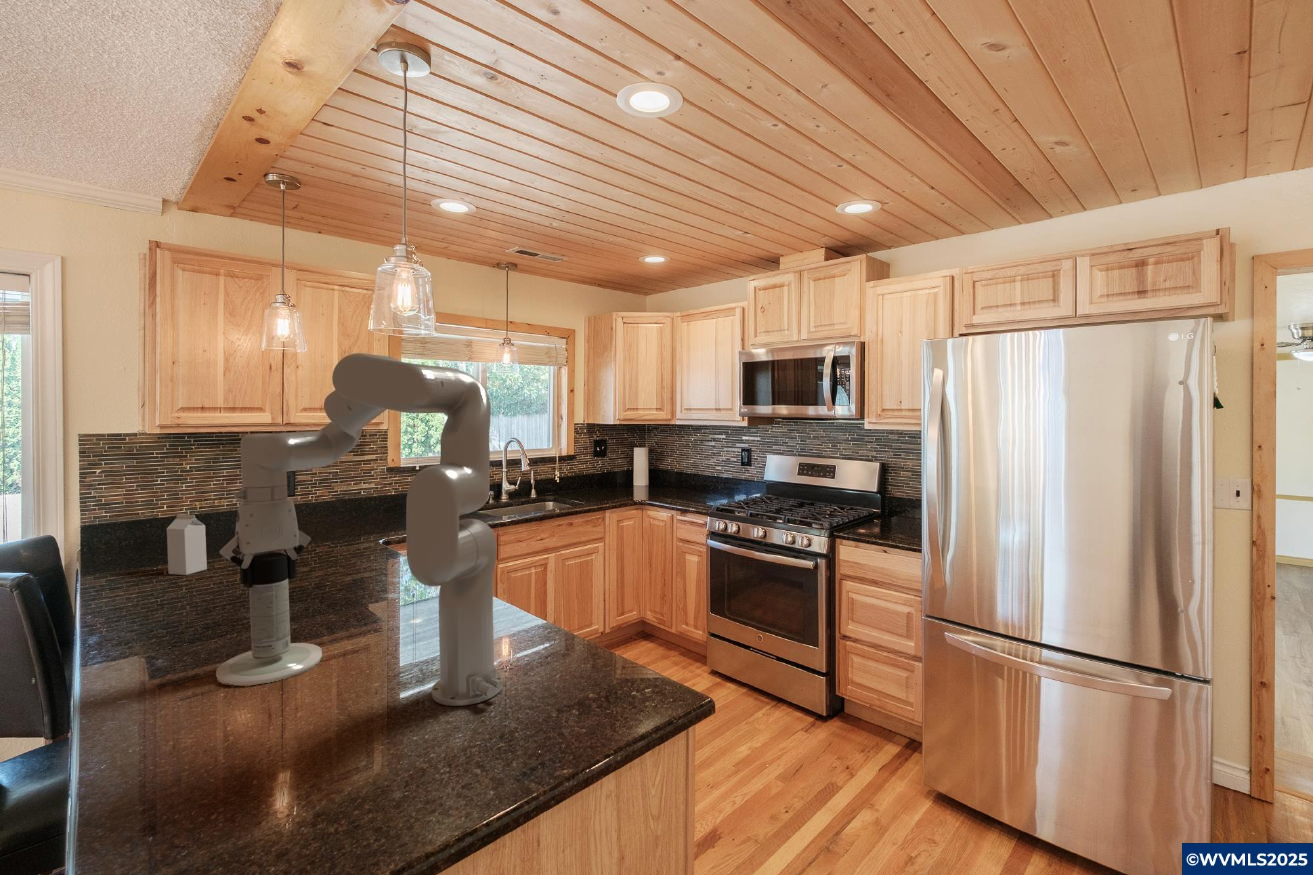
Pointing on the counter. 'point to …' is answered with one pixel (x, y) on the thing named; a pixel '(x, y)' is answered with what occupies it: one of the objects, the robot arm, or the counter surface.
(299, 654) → the dish
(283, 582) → the spray can
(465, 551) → the robot arm
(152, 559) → the counter surface
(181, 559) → the milk carton
